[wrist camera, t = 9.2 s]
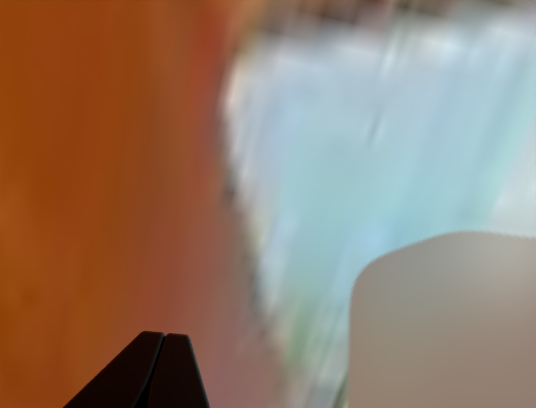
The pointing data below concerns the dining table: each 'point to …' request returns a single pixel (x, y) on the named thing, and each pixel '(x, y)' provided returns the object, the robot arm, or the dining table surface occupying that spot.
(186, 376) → the robot arm
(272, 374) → the dining table surface
